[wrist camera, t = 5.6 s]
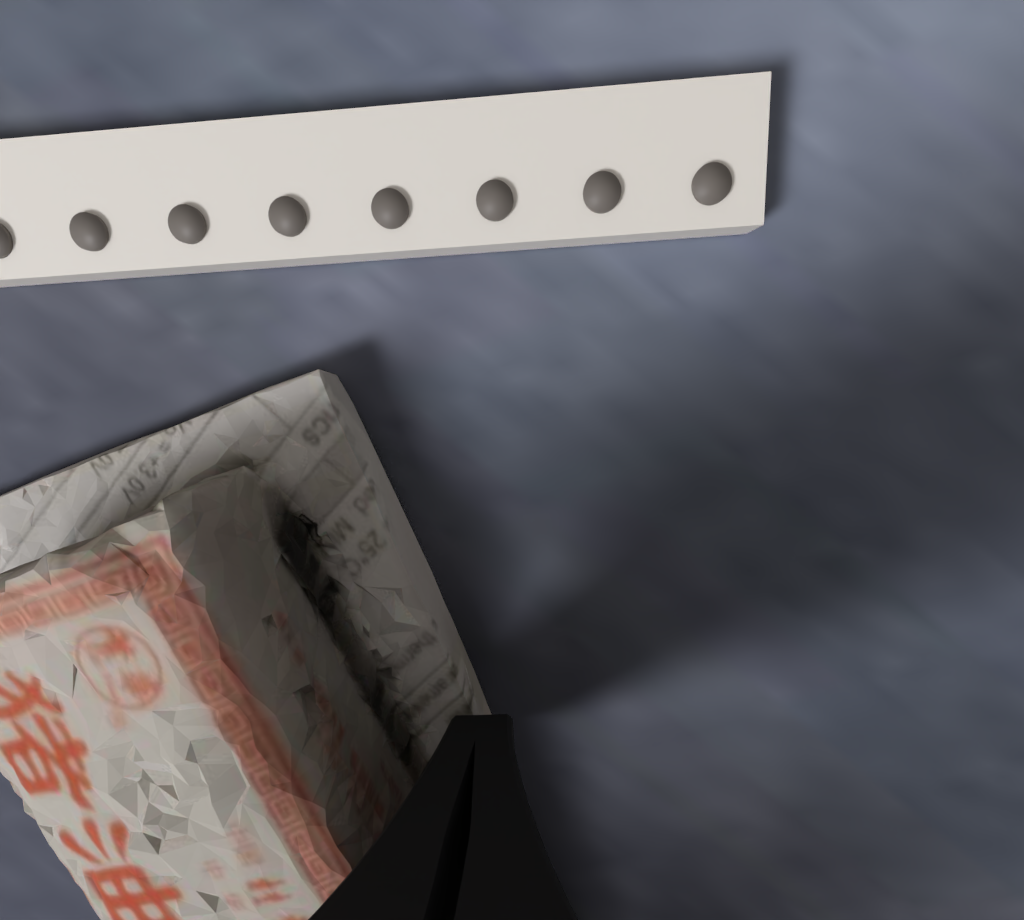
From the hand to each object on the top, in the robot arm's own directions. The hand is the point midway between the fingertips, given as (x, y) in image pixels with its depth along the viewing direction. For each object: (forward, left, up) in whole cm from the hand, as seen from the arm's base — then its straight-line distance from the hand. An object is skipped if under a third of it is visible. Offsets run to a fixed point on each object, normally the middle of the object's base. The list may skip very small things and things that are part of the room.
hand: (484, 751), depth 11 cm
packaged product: (-5, -1, -2) cm, 5 cm away
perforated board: (-2, +12, -1) cm, 13 cm away
